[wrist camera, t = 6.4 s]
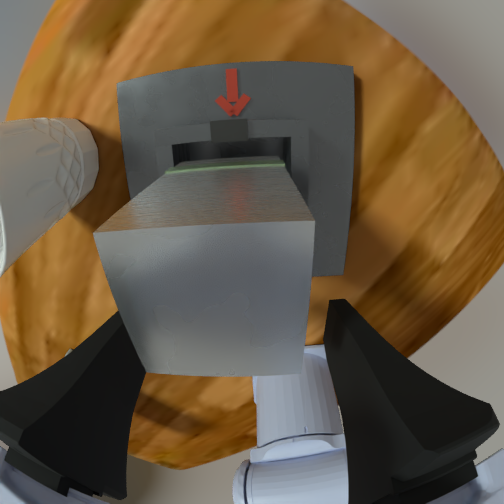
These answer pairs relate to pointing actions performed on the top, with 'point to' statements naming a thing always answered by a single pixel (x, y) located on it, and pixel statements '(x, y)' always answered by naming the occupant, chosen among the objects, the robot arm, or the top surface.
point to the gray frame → (251, 132)
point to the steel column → (214, 269)
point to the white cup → (41, 178)
